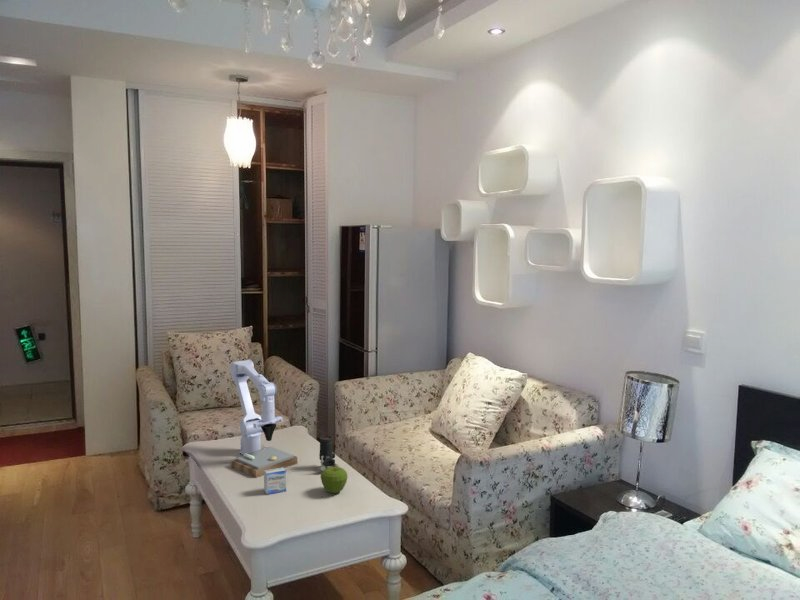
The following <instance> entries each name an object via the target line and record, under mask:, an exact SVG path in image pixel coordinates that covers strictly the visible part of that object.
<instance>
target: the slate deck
mask: <svg viewBox="0 0 800 600" xmlns="http://www.w3.org/2000/svg"><path fill="white" fill-rule="evenodd" d="M294 456H295V454H292V453H289V452H286V451H284V450H281V449H278V448H276V447H273V446H268V447H264V448H261V450H258V451H255V452H252V453H248V454H247V453H245V454H244V455H243V454H241V455H239V456H236V457H235V459H236V460H237V461H240V462H242V463H244V464H247V465H249V466H251V467H254V468H256V469H261V468H264V467H267V466H270V465H273V464H276V463H279V462H282V461H285V460H288V459H291V458H294Z"/></svg>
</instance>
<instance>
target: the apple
mask: <svg viewBox="0 0 800 600" xmlns="http://www.w3.org/2000/svg"><path fill="white" fill-rule="evenodd" d="M348 478H349V477H348V472H347V470H346V469H344V468H343V467H340V466H338V467H328V468H327V469H325V470H323V472H322V471H321V474H320V480H321V484H322V486H323V488H324V490H325V491H327V492H328V493H330V494H339V493H340V492H341V491H343V489H345V486H346V484H347V481H348ZM338 492H339V493H338Z"/></svg>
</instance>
